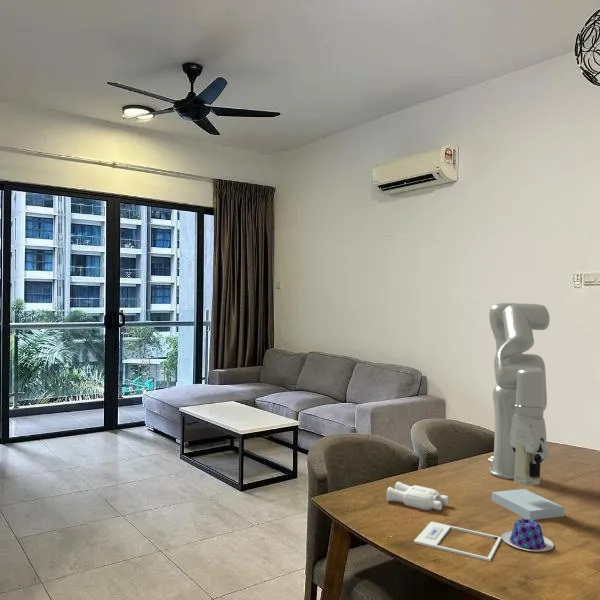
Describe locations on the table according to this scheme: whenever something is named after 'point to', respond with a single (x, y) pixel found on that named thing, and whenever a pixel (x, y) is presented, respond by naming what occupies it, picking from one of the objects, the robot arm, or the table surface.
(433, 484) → the table surface
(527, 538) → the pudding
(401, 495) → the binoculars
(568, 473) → the table surface
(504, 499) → the pale blue flat board
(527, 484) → the skincare box
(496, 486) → the table surface
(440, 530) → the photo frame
